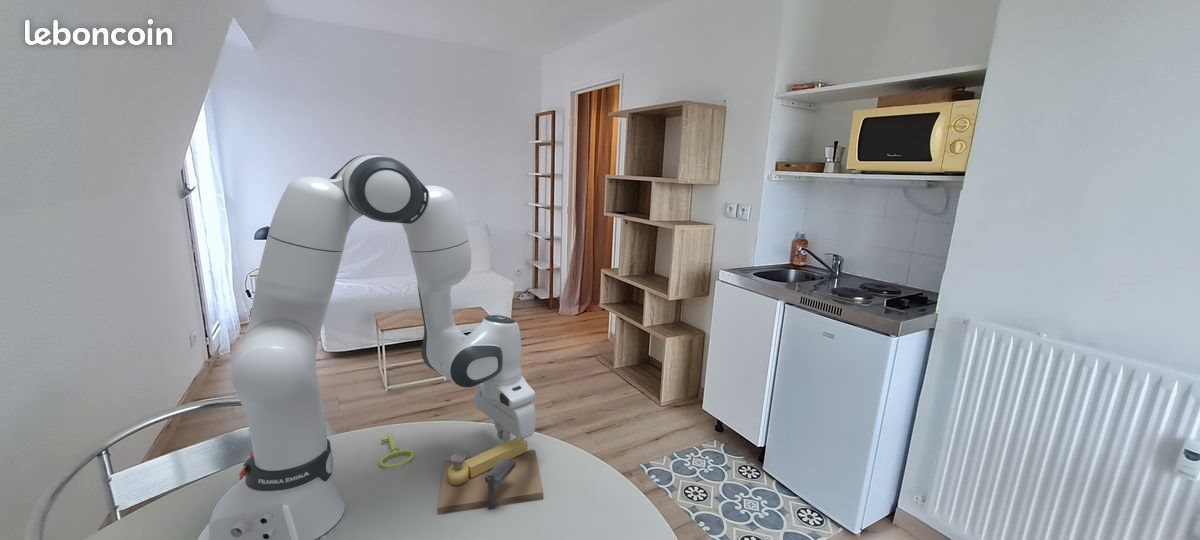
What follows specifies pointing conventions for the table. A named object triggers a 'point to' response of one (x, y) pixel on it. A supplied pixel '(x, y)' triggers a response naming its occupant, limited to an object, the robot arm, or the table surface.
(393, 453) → the key
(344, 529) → the table surface
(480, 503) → the board
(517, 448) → the link
